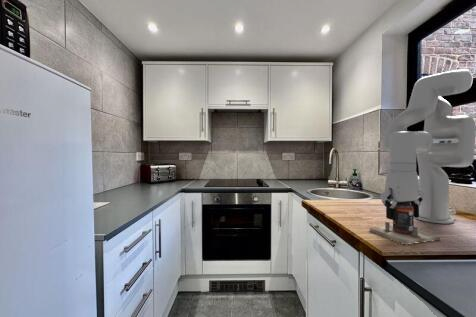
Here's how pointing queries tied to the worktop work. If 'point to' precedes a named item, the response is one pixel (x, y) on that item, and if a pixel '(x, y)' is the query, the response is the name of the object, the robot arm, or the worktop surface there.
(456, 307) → the worktop surface
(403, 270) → the worktop surface
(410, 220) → the supplement bottle
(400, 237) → the pin board
